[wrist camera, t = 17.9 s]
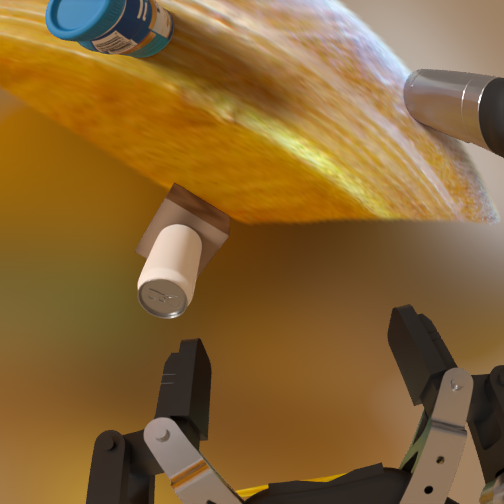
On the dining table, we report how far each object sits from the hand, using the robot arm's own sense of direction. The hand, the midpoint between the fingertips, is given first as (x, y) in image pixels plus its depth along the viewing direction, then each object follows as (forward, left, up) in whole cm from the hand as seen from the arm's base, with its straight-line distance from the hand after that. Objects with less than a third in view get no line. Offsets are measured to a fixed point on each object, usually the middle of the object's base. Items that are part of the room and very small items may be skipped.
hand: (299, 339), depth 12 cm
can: (+2, +16, -28) cm, 32 cm away
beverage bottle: (+23, -6, -34) cm, 42 cm away
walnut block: (+2, +16, -34) cm, 38 cm away
